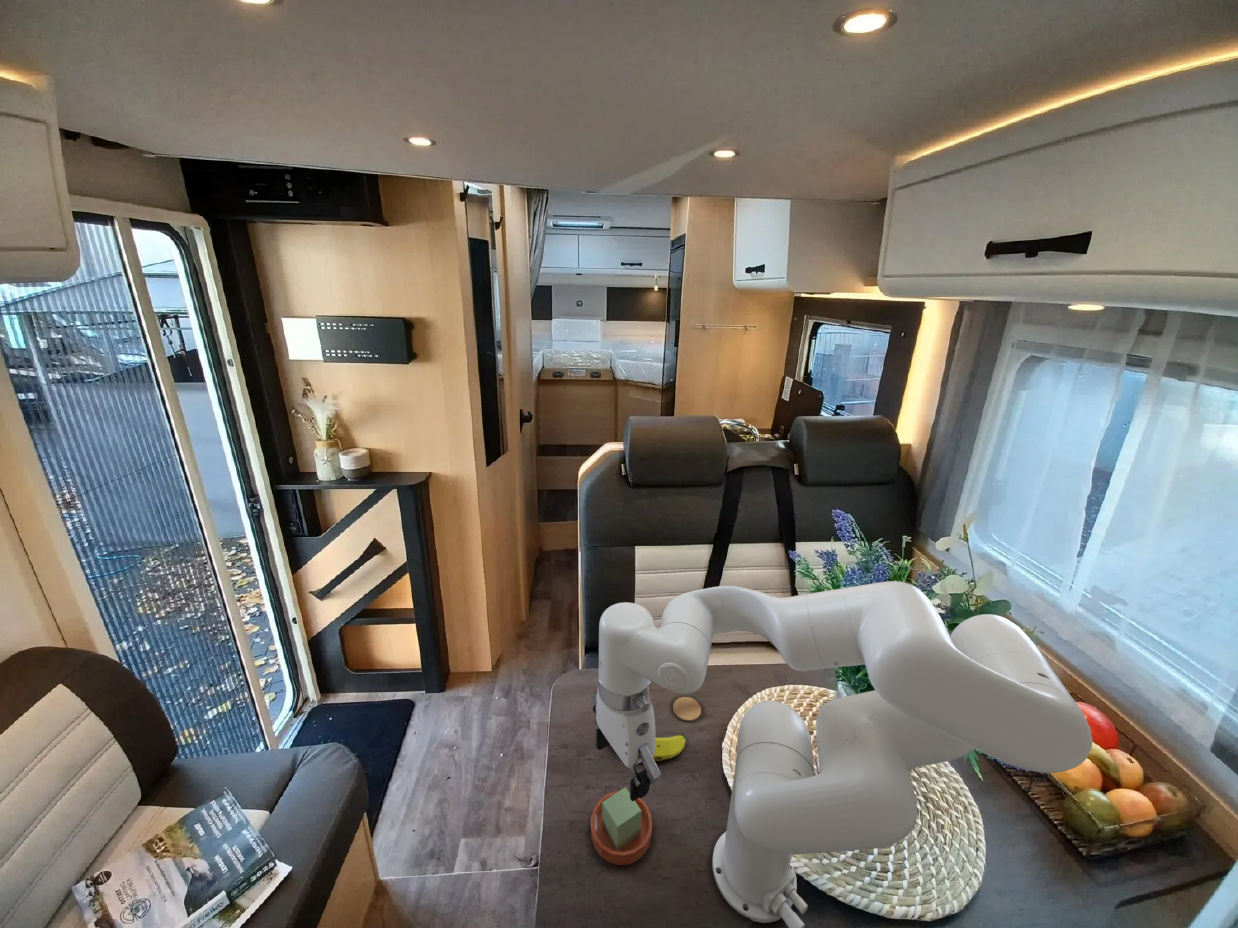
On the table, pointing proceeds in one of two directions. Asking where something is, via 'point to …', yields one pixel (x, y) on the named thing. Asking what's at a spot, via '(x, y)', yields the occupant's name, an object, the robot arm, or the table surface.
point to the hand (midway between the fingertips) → (621, 768)
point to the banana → (668, 747)
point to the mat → (687, 709)
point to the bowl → (632, 849)
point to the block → (621, 819)
